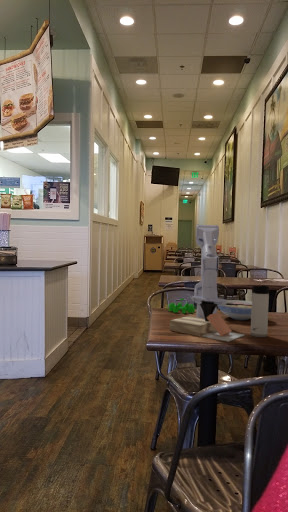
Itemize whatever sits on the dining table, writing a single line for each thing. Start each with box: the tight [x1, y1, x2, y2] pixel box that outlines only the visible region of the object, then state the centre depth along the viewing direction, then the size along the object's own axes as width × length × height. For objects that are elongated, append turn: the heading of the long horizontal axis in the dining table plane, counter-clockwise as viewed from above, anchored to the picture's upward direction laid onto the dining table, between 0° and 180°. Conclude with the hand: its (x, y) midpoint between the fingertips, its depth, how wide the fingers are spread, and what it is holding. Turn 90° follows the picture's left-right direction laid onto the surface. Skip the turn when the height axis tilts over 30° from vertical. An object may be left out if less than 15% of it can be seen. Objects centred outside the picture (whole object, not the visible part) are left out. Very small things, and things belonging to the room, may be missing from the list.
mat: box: [201, 331, 246, 343], centre depth 154 cm, size 14×11×1 cm
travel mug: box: [250, 284, 270, 338], centre depth 157 cm, size 6×7×20 cm
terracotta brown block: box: [207, 312, 233, 337], centre depth 155 cm, size 6×9×2 cm
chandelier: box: [166, 298, 197, 315], centre depth 207 cm, size 15×15×7 cm
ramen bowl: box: [217, 299, 271, 321], centre depth 192 cm, size 25×23×8 cm
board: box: [169, 315, 216, 337], centre depth 163 cm, size 14×14×4 cm
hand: (207, 321), depth 158 cm, fingers closed
